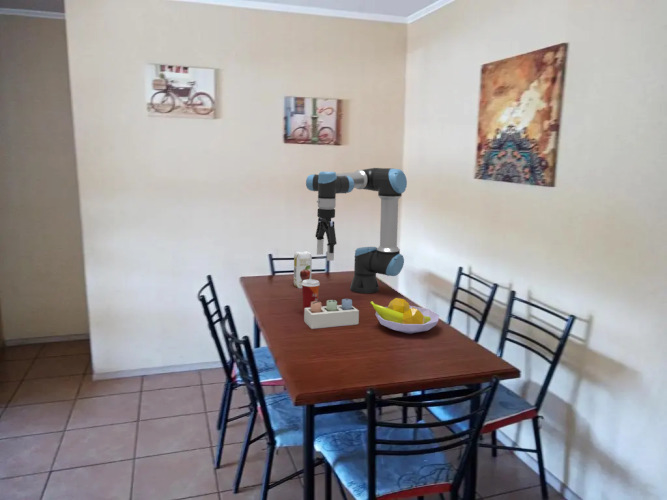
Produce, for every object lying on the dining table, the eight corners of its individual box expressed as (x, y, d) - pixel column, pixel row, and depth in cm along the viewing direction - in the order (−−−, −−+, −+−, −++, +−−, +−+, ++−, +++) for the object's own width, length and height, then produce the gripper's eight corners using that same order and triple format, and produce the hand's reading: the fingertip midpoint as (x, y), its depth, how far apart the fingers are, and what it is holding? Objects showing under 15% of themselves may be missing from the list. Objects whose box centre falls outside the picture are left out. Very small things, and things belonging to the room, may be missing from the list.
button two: (334, 313, 221) (334, 299, 219) (338, 316, 217) (338, 301, 215) (324, 313, 219) (325, 299, 218) (328, 316, 215) (328, 302, 214)
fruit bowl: (440, 321, 225) (441, 296, 223) (435, 342, 199) (437, 314, 197) (377, 314, 232) (378, 290, 230) (364, 333, 206) (365, 306, 204)
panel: (349, 317, 227) (349, 304, 226) (358, 324, 218) (358, 310, 217) (304, 321, 219) (304, 307, 218) (311, 328, 210) (311, 314, 209)
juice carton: (292, 285, 278) (293, 251, 275) (307, 284, 282) (307, 250, 278) (297, 289, 271) (298, 253, 268) (312, 287, 275) (313, 253, 272)
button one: (349, 311, 223) (349, 297, 222) (353, 314, 219) (353, 300, 218) (339, 312, 222) (340, 298, 220) (343, 315, 218) (344, 301, 216)
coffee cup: (316, 317, 226) (317, 284, 223) (298, 315, 227) (299, 282, 225) (321, 311, 234) (321, 279, 231) (303, 309, 235) (304, 278, 233)
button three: (319, 314, 218) (319, 300, 217) (322, 317, 214) (322, 303, 213) (309, 315, 217) (309, 301, 215) (312, 318, 212) (312, 304, 211)
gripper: (309, 205, 228) (308, 252, 231) (328, 211, 205) (326, 263, 208) (325, 205, 230) (323, 251, 234) (345, 211, 207) (343, 262, 211)
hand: (325, 257), depth 221 cm, fingers open, 13 cm apart
